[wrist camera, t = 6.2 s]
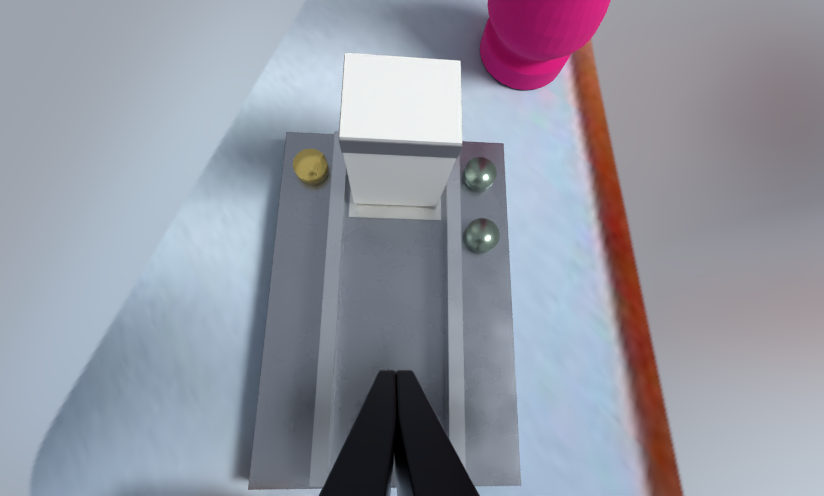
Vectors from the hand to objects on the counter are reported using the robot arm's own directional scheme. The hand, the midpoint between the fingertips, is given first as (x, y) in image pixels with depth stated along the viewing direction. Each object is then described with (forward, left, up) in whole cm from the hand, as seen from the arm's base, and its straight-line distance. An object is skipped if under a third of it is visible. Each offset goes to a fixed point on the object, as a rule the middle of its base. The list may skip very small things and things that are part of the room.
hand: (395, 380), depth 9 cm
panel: (+4, 0, -12) cm, 13 cm away
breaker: (+11, 0, -11) cm, 16 cm away
